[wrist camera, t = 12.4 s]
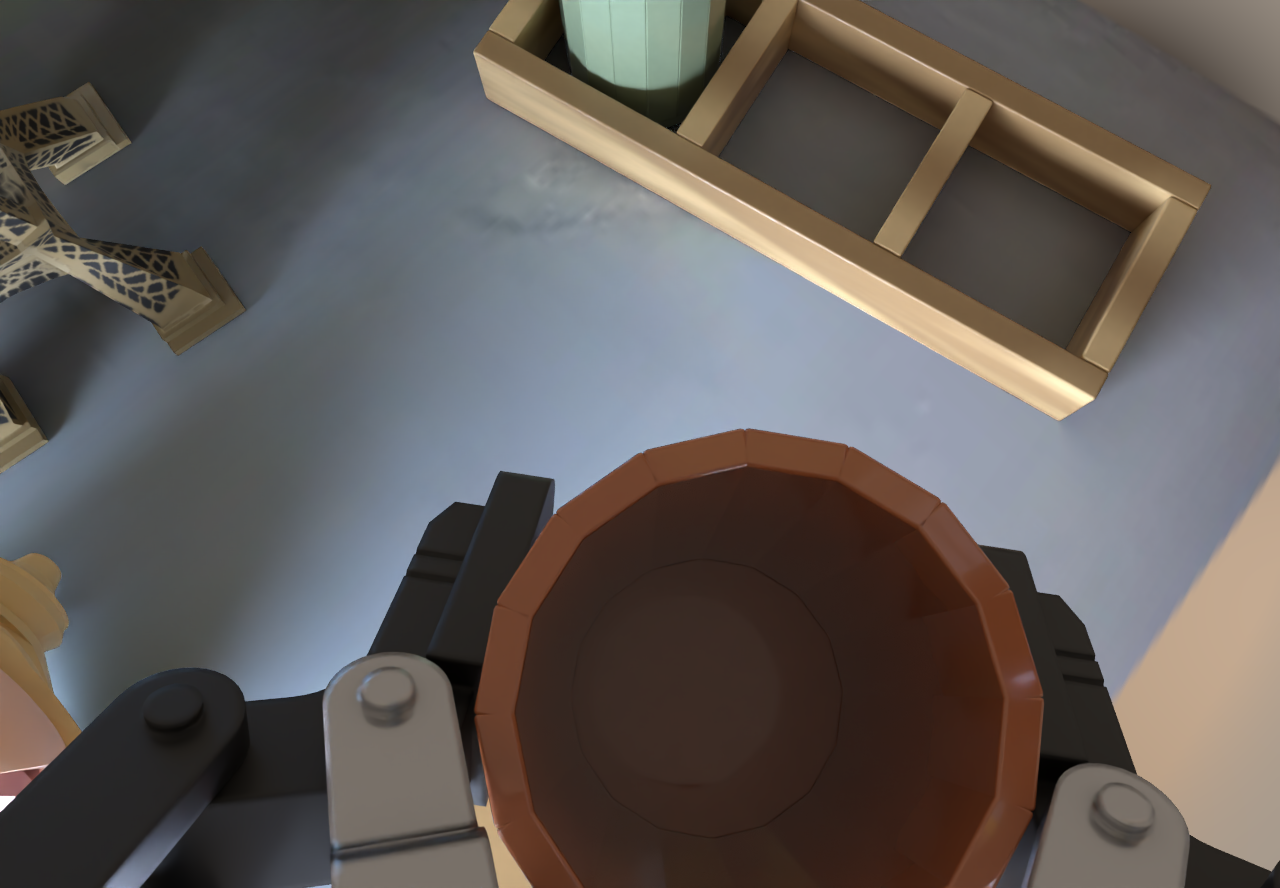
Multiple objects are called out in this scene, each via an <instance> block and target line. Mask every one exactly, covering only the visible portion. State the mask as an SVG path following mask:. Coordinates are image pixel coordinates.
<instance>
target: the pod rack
mask: <svg viewBox="0 0 1280 888" xmlns="http://www.w3.org/2000/svg"><path fill="white" fill-rule="evenodd" d="M726 16H728V17H730V18H732V19H734V20H736V21H738V22H740V23H741V24H743V25H745V26H746V28H745V29H744V31H743V32H742V34H741V35H740V37H739V38H738V40H737V41H736V43H735V44H734V46H733V47H732V49H731V50H730V52H729V53H728V55H727V56H726V58H725V59H724V61H723V62H722V64H721V65H720V67H719V68H718V70H717V71H716V73H715V74H714V76H713V77H712V79H711V80H710V82H709V83H708V85H707V87H706V88H705V90H704V91H703V93H702V94H701V96H700V97H699V99H698V100H697V102H696V103H695V105H694V106H693V108H692V109H691V111H690V112H689V114H688V115H687V117H686V118H685V120H684V121H683V123H682V124H681V126H680V127H679V129H678V130H677V133H674V132H672V131H670V130H668V129H667V128H665V127H663V126H661V125H659V124H658V123H656V122H654V121H652V120H650V119H649V118H647V117H645V116H643V115H641V114H640V113H638V112H636V111H634V110H632V109H631V108H629V107H627V106H625V105H623V104H622V103H620V102H618V101H616V100H614V99H613V98H611V97H609V96H607V95H605V94H604V93H602V92H600V91H598V90H596V89H595V88H593V87H591V86H589V85H587V84H586V83H584V82H582V81H580V80H578V79H577V78H575V77H573V76H571V75H569V74H568V73H566V72H564V71H562V70H560V69H559V68H557V67H555V66H553V65H551V64H550V63H548V62H546V61H544V60H545V59H546V57H547V56H548V54H549V53H550V51H551V50H552V48H553V47H554V46H555V44H556V43H557V41H558V40H559V38H560V37H561V36H562V34H563V33H564V30H563V23H562V16H561V9H560V2H559V0H509V1H508V3H507V4H506V5H505V7H504V8H503V10H502V11H501V12H500V14H499V15H498V17H497V18H496V19H495V21H494V22H493V24H492V25H491V26H490V28H489V31H487V33H486V34H485V35H484V37H483V38H482V40H481V41H480V42H479V44H478V45H477V47H476V48H475V49H474V52H473V53H474V57H475V60H476V64H477V67H478V70H479V74H480V77H481V81H482V84H483V87H484V91H485V94H486V97H487V99H489V100H491V101H492V102H494V103H496V104H498V105H500V106H501V107H503V108H505V109H507V110H508V111H510V112H512V113H514V114H516V115H517V116H519V117H521V118H523V119H524V120H526V121H528V122H530V123H531V124H533V125H535V126H537V127H539V128H540V129H542V130H544V131H546V132H547V133H549V134H551V135H553V136H554V137H556V138H558V139H560V140H562V141H563V142H565V143H567V144H569V145H570V146H572V147H574V148H576V149H578V150H579V151H581V152H583V153H585V154H586V155H588V156H590V157H592V158H593V159H595V160H597V161H599V162H601V163H602V164H604V165H606V166H608V167H609V168H611V169H613V170H615V171H616V172H618V173H620V174H622V175H624V176H625V177H627V178H629V179H631V180H632V181H634V182H636V183H638V184H640V185H641V186H643V187H645V188H647V189H648V190H650V191H652V192H654V193H655V194H657V195H659V196H661V197H663V198H664V199H666V200H668V201H670V202H671V203H673V204H675V205H677V206H679V207H680V208H682V209H684V210H686V211H687V212H689V213H691V214H693V215H694V216H696V217H698V218H700V219H702V220H703V221H705V222H707V223H709V224H710V225H712V226H714V227H716V228H717V229H719V230H721V231H723V232H725V233H726V234H728V235H730V236H732V237H733V238H735V239H737V240H739V241H741V242H742V243H744V244H746V245H748V246H749V247H751V248H753V249H755V250H756V251H758V252H760V253H762V254H764V255H765V256H767V257H769V258H771V259H772V260H774V261H776V262H778V263H780V264H781V265H783V266H785V267H787V268H788V269H790V270H792V271H794V272H795V273H797V274H799V275H801V276H803V277H804V278H806V279H808V280H810V281H811V282H813V283H815V284H817V285H818V286H820V287H822V288H824V289H826V290H827V291H829V292H831V293H833V294H834V295H836V296H838V297H840V298H842V299H843V300H845V301H847V302H849V303H850V304H852V305H854V306H856V307H857V308H859V309H861V310H863V311H865V312H866V313H868V314H870V315H872V316H873V317H875V318H877V319H879V320H881V321H882V322H884V323H886V324H888V325H889V326H891V327H893V328H895V329H896V330H898V331H900V332H902V333H904V334H905V335H907V336H909V337H911V338H912V339H914V340H916V341H918V342H919V343H921V344H923V345H925V346H927V347H928V348H930V349H932V350H934V351H935V352H937V353H939V354H941V355H943V356H944V357H946V358H948V359H950V360H951V361H953V362H955V363H957V364H958V365H960V366H962V367H964V368H966V369H967V370H969V371H971V372H973V373H974V374H976V375H978V376H980V377H981V378H983V379H985V380H987V381H989V382H990V383H992V384H994V385H996V386H997V387H999V388H1001V389H1003V390H1005V391H1006V392H1008V393H1010V394H1012V395H1013V396H1015V397H1017V398H1019V399H1020V400H1022V401H1024V402H1026V403H1028V404H1029V405H1031V406H1033V407H1035V408H1036V409H1038V410H1040V411H1042V412H1044V413H1045V414H1047V415H1049V416H1051V417H1052V418H1054V419H1056V420H1058V421H1061V420H1063V419H1064V418H1066V417H1067V416H1069V415H1070V414H1072V413H1074V412H1075V411H1077V410H1078V409H1080V408H1082V407H1083V406H1085V405H1086V404H1088V403H1090V402H1091V401H1093V400H1094V399H1096V397H1097V395H1098V393H1099V392H1100V390H1101V388H1102V386H1103V384H1104V382H1105V381H1106V379H1107V377H1108V373H1109V372H1110V371H1111V370H1112V368H1113V366H1114V364H1115V362H1116V360H1117V359H1118V357H1119V355H1120V353H1121V351H1122V349H1123V348H1124V346H1125V344H1126V342H1127V340H1128V338H1129V337H1130V335H1131V333H1132V331H1133V329H1134V327H1135V326H1136V324H1137V322H1138V320H1139V318H1140V316H1141V315H1142V313H1143V311H1144V309H1145V307H1146V305H1147V304H1148V302H1149V300H1150V298H1151V296H1152V294H1153V293H1154V291H1155V289H1156V287H1157V285H1158V283H1159V282H1160V280H1161V278H1162V276H1163V274H1164V272H1165V271H1166V269H1167V267H1168V265H1169V263H1170V261H1171V260H1172V258H1173V256H1174V254H1175V252H1176V250H1177V249H1178V247H1179V245H1180V243H1181V241H1182V239H1183V238H1184V236H1185V234H1186V232H1187V230H1188V228H1189V227H1190V225H1191V223H1192V221H1193V219H1194V218H1195V216H1196V214H1197V211H1198V210H1199V209H1200V207H1201V205H1202V203H1203V201H1204V200H1205V198H1206V196H1207V194H1208V192H1209V190H1210V189H1211V185H1210V184H1208V183H1206V182H1205V181H1203V180H1201V179H1199V178H1197V177H1195V176H1193V175H1191V174H1189V173H1187V172H1185V171H1184V170H1182V169H1180V168H1178V167H1176V166H1174V165H1172V164H1170V163H1168V162H1166V161H1165V160H1163V159H1161V158H1159V157H1157V156H1155V155H1153V154H1151V153H1149V152H1147V151H1145V150H1144V149H1142V148H1140V147H1138V146H1136V145H1134V144H1132V143H1130V142H1128V141H1126V140H1124V139H1123V138H1121V137H1119V136H1117V135H1115V134H1113V133H1111V132H1109V131H1107V130H1105V129H1103V128H1102V127H1100V126H1098V125H1096V124H1094V123H1092V122H1090V121H1088V120H1086V119H1084V118H1082V117H1081V116H1079V115H1077V114H1075V113H1073V112H1071V111H1069V110H1067V109H1065V108H1063V107H1062V106H1060V105H1058V104H1056V103H1054V102H1052V101H1050V100H1048V99H1046V98H1044V97H1042V96H1041V95H1039V94H1037V93H1035V92H1033V91H1031V90H1029V89H1027V88H1025V87H1023V86H1021V85H1020V84H1018V83H1016V82H1014V81H1012V80H1010V79H1008V78H1006V77H1004V76H1002V75H1000V74H999V73H997V72H995V71H993V70H991V69H989V68H987V67H985V66H983V65H981V64H980V63H978V62H976V61H974V60H972V59H970V58H968V57H966V56H964V55H962V54H960V53H959V52H957V51H955V50H953V49H951V48H949V47H947V46H945V45H943V44H941V43H939V42H938V41H936V40H934V39H932V38H930V37H928V36H926V35H924V34H922V33H920V32H918V31H917V30H915V29H913V28H911V27H909V26H907V25H905V24H903V23H901V22H899V21H898V20H896V19H894V18H892V17H890V16H888V15H886V14H884V13H882V12H880V11H878V10H877V9H875V8H873V7H871V6H869V5H867V4H865V3H863V2H861V1H859V0H727V9H726ZM788 49H790V50H792V51H794V52H796V53H797V54H799V55H801V56H803V57H805V58H807V59H809V60H810V61H812V62H814V63H816V64H818V65H820V66H822V67H824V68H825V69H827V70H829V71H831V72H833V73H835V74H837V75H838V76H840V77H842V78H844V79H846V80H848V81H850V82H852V83H853V84H855V85H857V86H859V87H861V88H863V89H865V90H867V91H868V92H870V93H872V94H874V95H876V96H878V97H880V98H881V99H883V100H885V101H887V102H889V103H891V104H893V105H895V106H896V107H898V108H900V109H902V110H904V111H906V112H908V113H909V114H911V115H913V116H915V117H917V118H919V119H921V120H923V121H924V122H926V123H928V124H930V125H932V126H934V127H936V128H937V129H939V130H941V131H940V132H939V134H938V136H937V137H936V139H935V141H934V142H933V144H932V146H931V147H930V149H929V150H928V152H927V154H926V155H925V157H924V159H923V160H922V162H921V164H920V165H919V167H918V169H917V170H916V172H915V174H914V175H913V177H912V178H911V180H910V182H909V183H908V185H907V187H906V188H905V190H904V192H903V193H902V195H901V197H900V198H899V200H898V202H897V203H896V205H895V206H894V208H893V210H892V211H891V213H890V215H889V216H888V218H887V220H886V221H885V223H884V225H883V226H882V228H881V229H880V231H879V233H878V234H877V236H876V238H875V239H874V241H873V243H872V242H870V241H869V240H867V239H865V238H863V237H861V236H859V235H858V234H856V233H854V232H852V231H850V230H849V229H847V228H845V227H843V226H841V225H840V224H838V223H836V222H834V221H832V220H831V219H829V218H827V217H825V216H823V215H822V214H820V213H818V212H816V211H814V210H813V209H811V208H809V207H807V206H805V205H804V204H802V203H800V202H798V201H796V200H795V199H793V198H791V197H789V196H787V195H786V194H784V193H782V192H780V191H778V190H777V189H775V188H773V187H771V186H769V185H768V184H766V183H764V182H762V181H760V180H759V179H757V178H755V177H753V176H751V175H750V174H748V173H746V172H744V171H742V170H741V169H739V168H737V167H735V166H733V165H732V164H730V163H728V162H726V161H724V160H723V159H721V158H719V155H720V153H721V152H722V150H723V149H724V147H725V146H726V144H727V143H728V141H729V140H730V138H731V136H732V135H733V133H734V132H735V130H736V129H737V127H738V126H739V124H740V123H741V121H742V120H743V118H744V116H745V115H746V113H747V112H748V110H749V109H750V107H751V106H752V104H753V103H754V101H755V100H756V98H757V96H758V95H759V93H760V92H761V90H762V89H763V87H764V86H765V84H766V83H767V81H768V80H769V78H770V76H771V75H772V73H773V72H774V70H775V69H776V67H777V66H778V64H779V63H780V61H781V59H782V58H783V56H784V55H785V53H786V52H787V50H788ZM968 145H969V146H971V147H973V148H975V149H977V150H979V151H980V152H982V153H984V154H986V155H988V156H990V157H992V158H993V159H995V160H997V161H999V162H1001V163H1003V164H1005V165H1007V166H1008V167H1010V168H1012V169H1014V170H1016V171H1018V172H1020V173H1021V174H1023V175H1025V176H1027V177H1029V178H1031V179H1033V180H1035V181H1036V182H1038V183H1040V184H1042V185H1044V186H1046V187H1048V188H1049V189H1051V190H1053V191H1055V192H1057V193H1059V194H1061V195H1063V196H1064V197H1066V198H1068V199H1070V200H1072V201H1074V202H1076V203H1077V204H1079V205H1081V206H1083V207H1085V208H1087V209H1089V210H1091V211H1092V212H1094V213H1096V214H1098V215H1100V216H1102V217H1104V218H1106V219H1107V220H1109V221H1111V222H1113V223H1115V224H1117V225H1119V226H1120V227H1122V228H1124V229H1126V230H1128V231H1130V232H1131V233H1130V235H1129V236H1128V238H1127V240H1126V242H1125V244H1124V245H1123V247H1122V249H1121V251H1120V253H1119V254H1118V256H1117V258H1116V260H1115V262H1114V263H1113V265H1112V267H1111V269H1110V270H1109V272H1108V274H1107V276H1106V278H1105V279H1104V281H1103V283H1102V285H1101V287H1100V288H1099V290H1098V292H1097V294H1096V296H1095V297H1094V299H1093V301H1092V303H1091V305H1090V306H1089V308H1088V310H1087V312H1086V314H1085V315H1084V317H1083V319H1082V321H1081V323H1080V324H1079V326H1078V328H1077V330H1076V332H1075V333H1074V335H1073V337H1072V339H1071V341H1070V342H1069V344H1068V346H1067V348H1066V349H1063V348H1061V347H1060V346H1058V345H1056V344H1054V343H1052V342H1051V341H1049V340H1047V339H1045V338H1043V337H1042V336H1040V335H1038V334H1036V333H1034V332H1033V331H1031V330H1029V329H1027V328H1025V327H1023V326H1022V325H1020V324H1018V323H1016V322H1014V321H1013V320H1011V319H1009V318H1007V317H1005V316H1004V315H1002V314H1000V313H998V312H996V311H995V310H993V309H991V308H989V307H987V306H986V305H984V304H982V303H980V302H978V301H977V300H975V299H973V298H971V297H969V296H968V295H966V294H964V293H962V292H960V291H959V290H957V289H955V288H953V287H951V286H950V285H948V284H946V283H944V282H942V281H941V280H939V279H937V278H935V277H933V276H932V275H930V274H928V273H926V272H924V271H923V270H921V269H919V268H917V267H915V266H914V265H912V264H910V263H908V262H906V261H905V260H903V259H901V257H902V255H903V253H904V252H905V250H906V248H907V247H908V245H909V243H910V242H911V240H912V238H913V237H914V235H915V233H916V232H917V230H918V228H919V227H920V225H921V223H922V222H923V220H924V218H925V217H926V215H927V213H928V212H929V210H930V208H931V207H932V205H933V203H934V202H935V200H936V198H937V197H938V195H939V193H940V192H941V190H942V188H943V187H944V185H945V183H946V182H947V180H948V178H949V177H950V175H951V173H952V172H953V170H954V168H955V167H956V165H957V163H958V162H959V160H960V158H961V157H962V155H963V153H964V152H965V150H966V148H967V147H968Z"/></svg>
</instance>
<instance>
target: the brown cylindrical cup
mask: <svg viewBox="0 0 1280 888" xmlns="http://www.w3.org/2000/svg"><path fill="white" fill-rule="evenodd" d="M556 513H557V514H554V515H552V516H551V518H550V519H549V521H548V522H547V524H546V525H545V527H544V528H543V530H542V531H541V533H540V535H539V536H538V538H537V539H536V541H535V542H534V544H533V545H532V547H531V548H530V550H529V551H528V553H527V555H526V556H525V558H524V559H523V561H522V562H521V564H520V565H519V567H518V568H517V570H516V572H515V573H514V575H513V576H512V578H511V579H510V581H509V582H508V584H507V585H506V587H505V588H504V590H503V592H502V593H501V595H500V596H499V598H498V599H497V604H498V605H496V606H495V607H494V609H493V614H492V619H491V625H490V630H489V635H488V640H487V645H486V650H485V655H484V660H483V666H482V671H481V676H480V681H479V686H478V691H477V696H476V701H475V706H474V713H475V714H476V716H475V717H474V724H475V729H476V734H477V739H478V745H479V750H480V755H481V760H482V765H483V771H484V776H485V781H486V786H487V792H488V797H489V802H490V807H491V813H492V818H493V823H494V826H495V827H496V828H498V829H497V833H498V836H499V837H500V839H501V840H502V842H503V843H504V845H505V846H506V848H507V849H508V851H509V853H510V854H511V856H512V857H513V859H514V860H515V862H516V863H517V865H518V866H519V868H520V870H521V871H522V873H523V874H524V876H525V877H526V879H527V880H528V882H529V883H530V885H531V886H532V888H996V887H997V885H998V883H999V881H1000V879H1001V877H1002V875H1003V873H1004V871H1005V869H1006V867H1007V866H1008V864H1009V862H1010V860H1011V858H1012V856H1013V854H1014V852H1015V850H1016V848H1017V846H1018V844H1019V842H1020V841H1021V839H1022V837H1023V835H1024V833H1025V831H1026V829H1027V827H1028V825H1029V823H1030V821H1031V819H1032V817H1033V813H1032V812H1031V811H1034V809H1035V806H1036V795H1037V783H1038V771H1039V759H1040V747H1041V736H1042V724H1043V712H1044V699H1043V698H1041V697H1042V696H1043V690H1042V687H1041V683H1040V680H1039V677H1038V673H1037V670H1036V667H1035V664H1034V660H1033V657H1032V654H1031V650H1030V647H1029V644H1028V640H1027V637H1026V634H1025V631H1024V627H1023V624H1022V621H1021V617H1020V614H1019V611H1018V607H1017V604H1016V601H1015V598H1014V594H1013V592H1012V591H1011V590H1009V588H1010V587H1009V584H1008V583H1007V581H1006V580H1005V579H1004V578H1003V576H1002V575H1001V574H1000V573H999V571H998V570H997V569H996V567H995V566H994V565H993V564H992V562H991V561H990V560H989V558H988V557H987V556H986V555H985V553H984V552H983V551H982V550H981V548H980V547H979V546H978V544H977V543H976V542H975V541H974V539H973V538H972V537H971V535H970V534H969V533H968V532H967V530H966V529H965V528H964V527H963V525H962V524H961V523H960V521H959V520H958V519H957V518H956V516H955V515H954V514H953V512H952V511H951V510H950V509H949V507H948V506H947V505H946V504H945V503H943V502H942V503H941V500H940V499H939V498H938V497H937V496H935V495H933V494H932V493H930V492H928V491H926V490H925V489H923V488H921V487H920V486H918V485H916V484H915V483H913V482H911V481H910V480H908V479H906V478H905V477H903V476H901V475H900V474H898V473H896V472H895V471H893V470H891V469H890V468H888V467H886V466H885V465H883V464H881V463H879V462H878V461H876V460H874V459H873V458H871V457H869V456H868V455H866V454H864V453H863V452H861V451H859V450H858V449H856V448H854V447H849V448H848V446H847V445H846V444H842V443H836V442H830V441H824V440H818V439H812V438H806V437H799V436H793V435H787V434H781V433H775V432H769V431H763V430H756V429H750V428H749V429H746V430H744V429H736V430H732V431H727V432H723V433H718V434H714V435H710V436H705V437H701V438H696V439H692V440H687V441H683V442H679V443H674V444H670V445H665V446H661V447H656V448H652V449H647V450H645V451H644V452H643V453H638V454H636V455H635V456H634V457H632V458H631V459H629V460H628V461H626V462H625V463H624V464H622V465H621V466H619V467H618V468H616V469H615V470H613V471H612V472H611V473H609V474H608V475H606V476H605V477H603V478H602V479H601V480H599V481H598V482H596V483H595V484H593V485H592V486H590V487H589V488H588V489H586V490H585V491H583V492H582V493H580V494H579V495H578V496H576V497H575V498H573V499H572V500H570V501H569V502H568V503H566V504H565V505H563V506H562V507H560V508H559V509H558V510H557V512H556Z"/></svg>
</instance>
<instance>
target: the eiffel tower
mask: <svg viewBox="0 0 1280 888" xmlns="http://www.w3.org/2000/svg"><path fill="white" fill-rule="evenodd" d="M131 143H132V142H131V141H130V139H129V138H128V137H127V135H126V134H125V132H124V131H123V129H122V128H121V126H120V125H119V123H118V122H117V120H116V119H115V118H114V116H113V115H112V113H111V112H110V110H109V109H108V107H107V106H106V104H105V103H104V101H103V100H102V98H101V97H100V96H99V94H98V93H97V91H96V90H95V88H94V87H93V86H92V85H91V84H90V83H89V82H88V83H86V84H85V85H83V86H81V87H80V88H78V89H77V90H75V91H73V92H72V93H70V94H69V95H67V96H65V97H57V98H53V99H48V100H44V101H39V102H35V103H31V104H26V105H22V106H17V107H13V108H9V109H6V110H2V111H0V303H1V302H3V301H4V300H5V299H7V298H8V297H10V296H12V295H14V294H16V293H18V292H21V291H23V290H26V289H28V288H31V287H34V286H36V285H39V284H41V283H44V282H46V281H48V280H51V279H54V278H57V277H60V276H64V275H67V274H70V275H72V276H73V277H75V278H77V279H79V280H80V281H82V282H84V283H85V284H87V285H89V286H91V287H92V288H94V289H96V290H97V291H99V292H101V293H102V294H104V295H106V296H108V297H109V298H111V299H113V300H114V301H116V302H118V303H119V304H121V305H123V306H125V307H126V308H128V309H130V310H131V311H133V312H135V313H136V314H138V315H140V316H142V317H143V318H145V319H147V320H148V321H150V322H151V323H152V324H153V326H154V327H155V329H156V330H157V332H158V333H159V335H160V336H161V338H162V339H163V340H164V341H165V342H167V343H168V345H169V346H170V348H171V349H172V351H173V352H174V353H175V354H176V355H180V354H181V353H183V352H184V351H186V350H187V349H189V348H190V347H192V346H194V345H195V344H197V343H198V342H200V341H201V340H203V339H204V338H206V337H207V336H209V335H210V334H212V333H213V332H215V331H216V330H218V329H219V328H221V327H222V326H224V325H225V324H227V323H228V322H230V321H231V320H233V319H234V318H236V317H237V316H239V315H240V314H242V313H243V312H245V311H246V309H245V308H244V306H243V305H242V303H241V302H240V300H239V299H238V297H237V296H236V295H235V293H234V292H233V290H232V289H231V287H230V286H229V284H228V283H227V281H226V280H225V278H224V277H223V276H222V274H221V273H220V271H219V270H218V268H217V267H216V265H215V264H214V262H213V261H212V259H211V258H210V256H209V255H208V254H207V252H206V251H205V250H204V249H203V248H202V247H200V248H198V249H197V250H195V251H194V252H192V253H189V252H188V251H187V250H185V251H184V252H182V253H181V254H180V253H179V252H172V251H165V250H159V249H152V248H145V247H138V246H132V245H125V244H118V243H112V242H105V241H98V240H92V239H85V238H79V237H78V235H77V234H76V233H75V232H74V231H73V230H72V228H71V227H70V226H69V225H68V224H67V222H66V221H65V220H64V218H63V217H62V216H61V215H60V213H59V212H58V211H57V210H56V208H55V207H54V206H53V204H52V203H51V202H50V200H49V199H48V198H47V196H46V195H45V194H44V192H43V191H42V189H41V188H40V186H39V185H38V183H37V182H36V180H35V178H34V177H33V175H32V173H31V171H30V170H35V169H39V168H44V167H49V168H50V170H51V172H52V173H53V175H54V176H55V177H56V178H57V179H58V180H60V181H61V182H62V183H63V184H64V185H66V184H68V183H69V182H71V181H72V180H74V179H75V178H77V177H79V176H80V175H82V174H83V173H85V172H86V171H88V170H90V169H91V168H93V167H94V166H96V165H97V164H99V163H101V162H102V161H104V160H105V159H107V158H109V157H110V156H112V155H113V154H115V153H116V152H118V151H120V150H121V149H123V148H124V147H126V146H127V145H129V144H131ZM48 442H49V441H48V440H47V438H46V436H45V435H44V433H43V432H42V430H41V428H40V427H39V425H38V424H37V422H36V420H35V419H34V417H33V415H32V414H31V412H30V411H29V409H28V407H27V406H26V404H25V403H24V401H23V399H22V398H21V396H20V395H19V393H18V391H17V390H16V388H15V387H14V385H13V383H12V382H11V380H10V379H9V378H8V377H6V376H3V375H1V374H0V474H1V473H2V472H4V471H5V470H7V469H8V468H10V467H11V466H13V465H14V464H16V463H17V462H19V461H20V460H22V459H23V458H25V457H26V456H28V455H29V454H31V453H32V452H34V451H35V450H37V449H39V448H40V447H42V446H43V445H45V444H46V443H48Z"/></svg>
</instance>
